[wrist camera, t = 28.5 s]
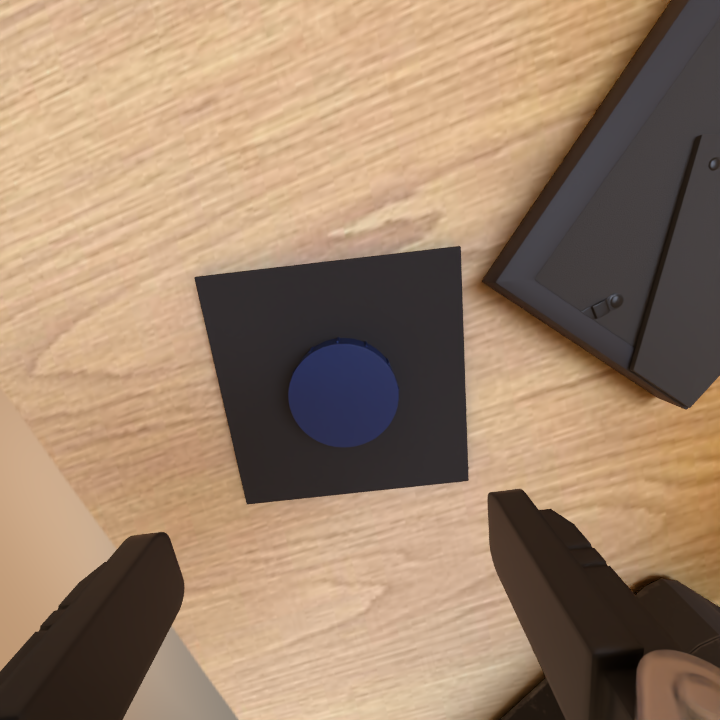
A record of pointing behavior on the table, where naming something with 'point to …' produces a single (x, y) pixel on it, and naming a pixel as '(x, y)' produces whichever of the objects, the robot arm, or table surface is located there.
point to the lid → (343, 393)
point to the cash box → (674, 613)
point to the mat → (331, 320)
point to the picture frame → (637, 219)
